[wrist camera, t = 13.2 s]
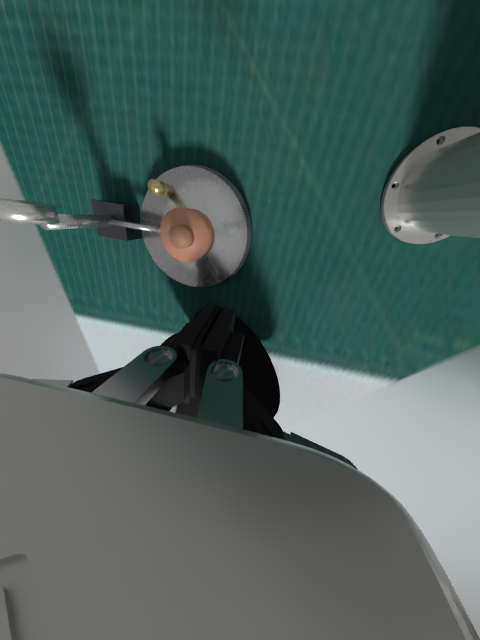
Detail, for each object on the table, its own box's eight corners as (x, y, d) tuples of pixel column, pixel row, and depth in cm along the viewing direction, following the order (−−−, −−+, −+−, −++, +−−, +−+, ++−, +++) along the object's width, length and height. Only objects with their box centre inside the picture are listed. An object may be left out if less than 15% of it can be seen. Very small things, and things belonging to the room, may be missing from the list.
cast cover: (198, 198, 28) (184, 194, 24) (223, 244, 30) (214, 248, 26) (162, 224, 30) (143, 225, 26) (188, 265, 33) (175, 272, 28)
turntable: (213, 139, 26) (199, 121, 21) (265, 258, 32) (264, 266, 27) (125, 208, 31) (99, 206, 27) (184, 298, 37) (170, 310, 33)
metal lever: (179, 212, 32) (87, 208, 16) (179, 244, 34) (99, 268, 19) (110, 201, 33) (-40, 186, 17) (115, 233, 35) (-13, 246, 19)
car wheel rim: (182, 320, 42) (116, 394, 24) (213, 291, 37) (161, 355, 20) (244, 378, 47) (227, 474, 29) (278, 358, 42) (282, 456, 25)
